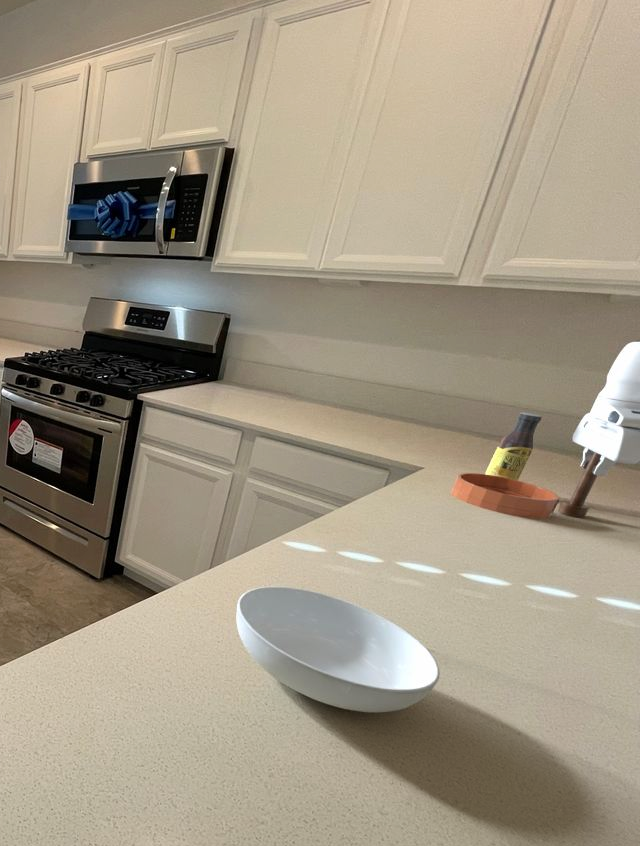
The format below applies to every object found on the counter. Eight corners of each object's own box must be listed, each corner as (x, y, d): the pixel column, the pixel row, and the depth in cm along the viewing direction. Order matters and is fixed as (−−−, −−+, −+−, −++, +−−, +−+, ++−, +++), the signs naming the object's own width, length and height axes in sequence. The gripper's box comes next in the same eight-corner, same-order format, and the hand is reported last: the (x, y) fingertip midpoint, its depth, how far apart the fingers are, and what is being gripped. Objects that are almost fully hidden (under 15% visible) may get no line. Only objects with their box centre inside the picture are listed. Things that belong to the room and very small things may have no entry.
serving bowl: (348, 761, 61) (370, 709, 59) (190, 644, 79) (202, 600, 77) (457, 712, 69) (480, 664, 67) (292, 616, 87) (305, 575, 85)
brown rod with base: (582, 514, 137) (616, 445, 131) (586, 519, 134) (622, 449, 128) (555, 508, 139) (588, 440, 133) (559, 513, 136) (593, 444, 130)
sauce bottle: (491, 491, 149) (524, 415, 142) (474, 482, 155) (504, 409, 148) (520, 494, 148) (554, 418, 141) (501, 485, 154) (533, 412, 147)
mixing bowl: (540, 510, 138) (551, 486, 136) (554, 532, 125) (566, 507, 123) (446, 490, 147) (455, 467, 145) (450, 509, 135) (460, 485, 133)
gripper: (578, 402, 138) (552, 457, 143) (626, 419, 121) (595, 481, 126) (615, 406, 135) (587, 462, 140) (669, 424, 118) (636, 487, 123)
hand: (591, 471), depth 133 cm, fingers open, 4 cm apart
